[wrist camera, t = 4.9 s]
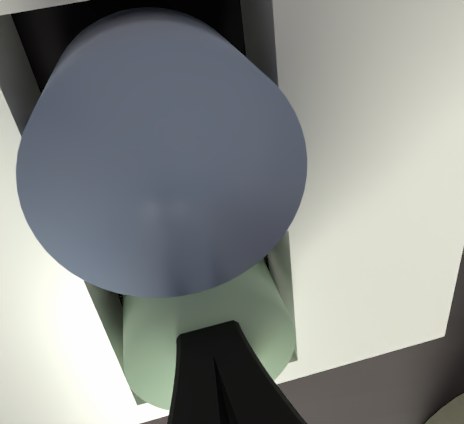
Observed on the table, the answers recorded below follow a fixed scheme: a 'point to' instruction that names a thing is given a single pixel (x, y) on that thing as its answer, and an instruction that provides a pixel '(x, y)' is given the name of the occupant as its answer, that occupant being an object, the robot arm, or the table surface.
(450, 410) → the reusable coffee cup
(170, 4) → the table surface
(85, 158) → the slate button
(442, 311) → the panel
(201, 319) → the sage button
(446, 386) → the table surface
